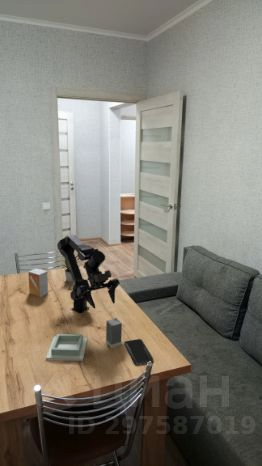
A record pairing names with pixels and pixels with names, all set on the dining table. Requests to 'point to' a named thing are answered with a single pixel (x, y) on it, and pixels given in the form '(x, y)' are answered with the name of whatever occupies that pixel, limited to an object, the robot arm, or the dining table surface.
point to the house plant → (67, 271)
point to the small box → (38, 282)
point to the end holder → (67, 347)
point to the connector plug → (113, 332)
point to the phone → (138, 351)
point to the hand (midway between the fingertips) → (104, 305)
